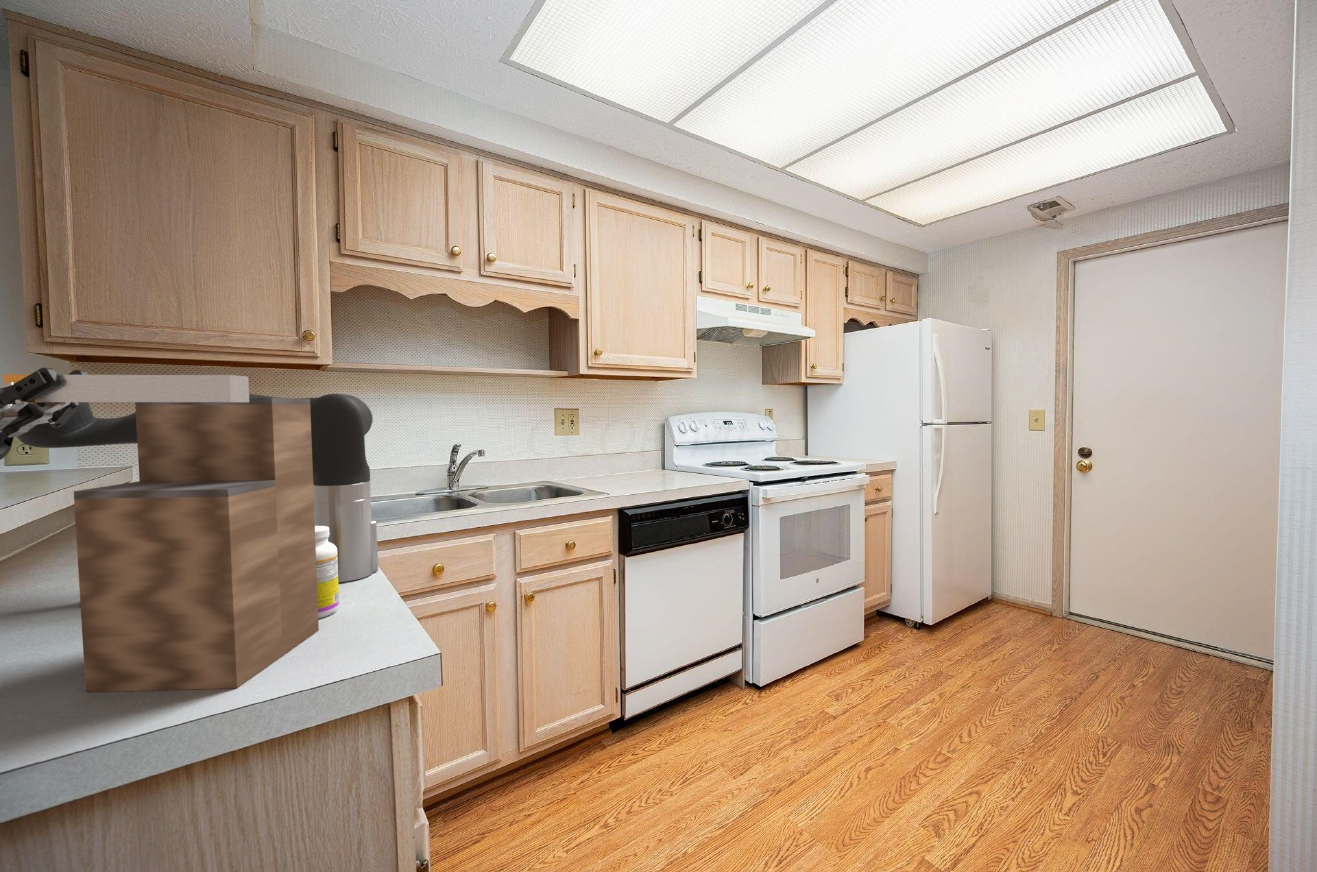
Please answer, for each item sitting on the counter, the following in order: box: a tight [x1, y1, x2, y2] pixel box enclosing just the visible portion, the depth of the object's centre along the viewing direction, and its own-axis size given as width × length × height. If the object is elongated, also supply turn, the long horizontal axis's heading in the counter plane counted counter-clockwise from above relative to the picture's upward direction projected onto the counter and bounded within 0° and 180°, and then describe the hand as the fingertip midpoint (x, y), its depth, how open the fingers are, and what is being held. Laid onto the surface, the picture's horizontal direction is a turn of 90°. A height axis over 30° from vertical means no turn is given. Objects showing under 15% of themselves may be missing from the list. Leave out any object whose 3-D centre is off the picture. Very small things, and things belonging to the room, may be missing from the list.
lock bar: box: [2, 373, 250, 403], centre depth 64 cm, size 24×3×3 cm, turn 92°
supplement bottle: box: [315, 526, 340, 620], centre depth 84 cm, size 7×7×13 cm
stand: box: [73, 397, 320, 693], centre depth 69 cm, size 16×16×32 cm
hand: (70, 376), depth 63 cm, fingers closed on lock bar, 3 cm apart
